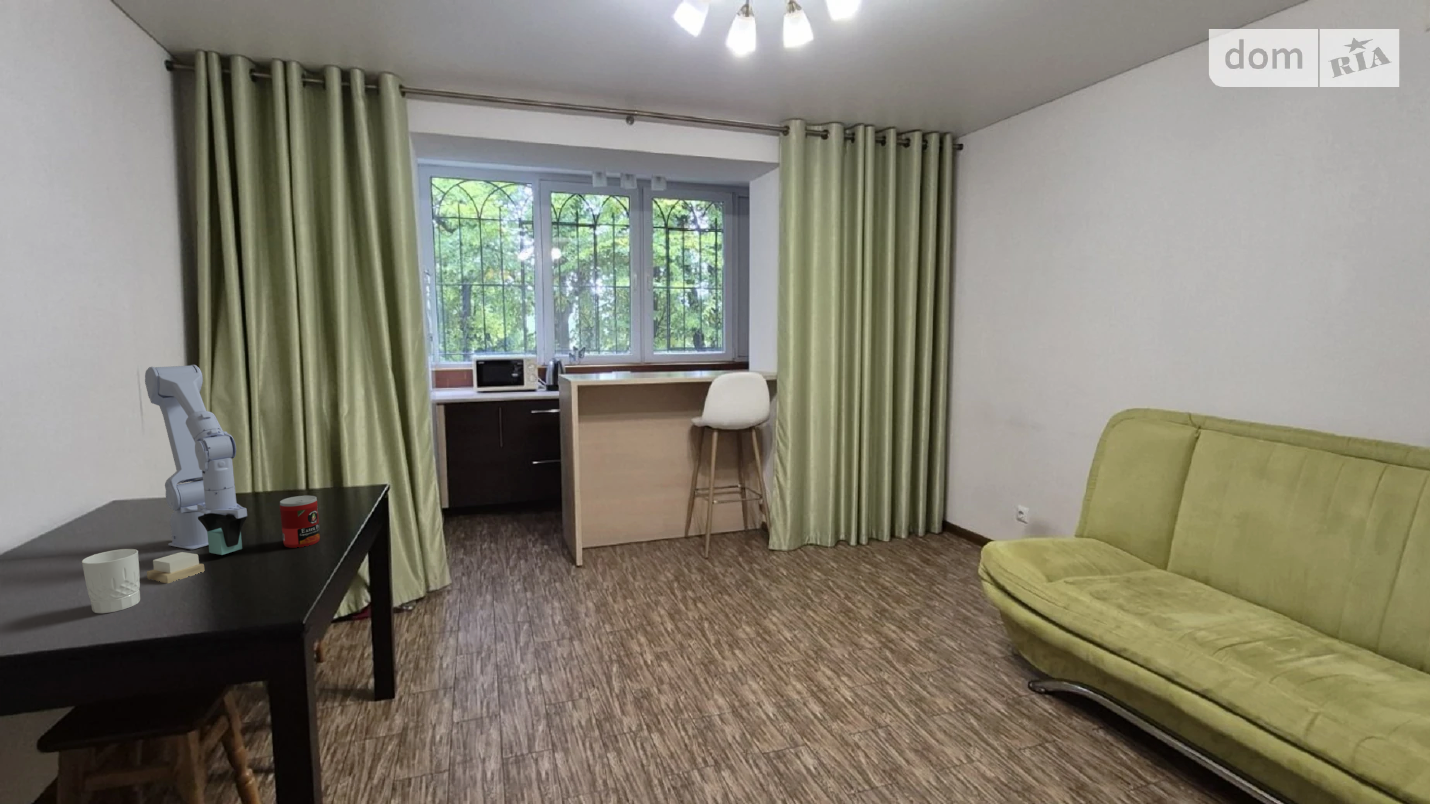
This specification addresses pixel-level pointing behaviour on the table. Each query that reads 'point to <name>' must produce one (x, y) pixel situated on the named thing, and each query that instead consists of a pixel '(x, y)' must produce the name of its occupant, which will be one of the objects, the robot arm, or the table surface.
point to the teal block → (220, 543)
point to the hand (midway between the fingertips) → (225, 544)
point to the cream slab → (175, 562)
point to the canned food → (299, 521)
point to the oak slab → (175, 574)
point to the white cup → (112, 580)
